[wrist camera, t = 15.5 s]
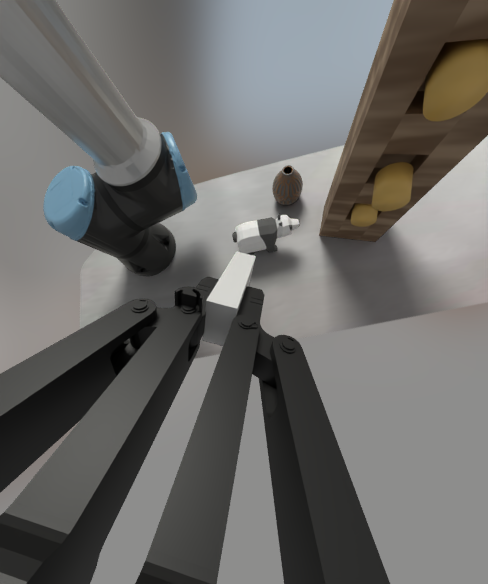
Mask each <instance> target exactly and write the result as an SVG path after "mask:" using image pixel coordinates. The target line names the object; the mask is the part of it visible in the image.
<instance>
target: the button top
mask: <svg viewBox="0 0 488 584" xmlns="http://www.w3.org/2000/svg"><path fill="white" fill-rule="evenodd" d="M487 92H488V38H487V39H477V40H466V41H456V42H446V43H445V44H444V45H443V47H442V49H441V51H440V53H439V54H438V56H437V58H436V60H435V61H434V63H433V65H432V67H431V68H430V70H429V72H428V74H427V76H426V82H425V92H424V103H423V115H424V117H425V118H426V119H428V120H430V121H444V120H448V119H451V118H454V117H456V116H458V115H460V114H462V113H464V112H466V111H467V110H469V109H470V108H471V107H473V106H474V105H475V104H477V103H478V102H479V101H480V100H481V99H482V98H483V97H484V96H485V95H486V93H487Z"/></svg>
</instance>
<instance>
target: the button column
mask: <svg viewBox="0 0 488 584" xmlns="http://www.w3.org/2000/svg"><path fill="white" fill-rule="evenodd" d="M487 38H488V0H394V2H393V4H392V7H391V10H390V13H389V16H388V19H387V22H386V25H385V28H384V31H383V34H382V37H381V40H380V43H379V46H378V49H377V52H376V55H375V58H374V61H373V64H372V67H371V69H370V72H369V75H368V79H367V82H366V85H365V87H364V90H363V93H362V96H361V99H360V102H359V105H358V108H357V111H356V114H355V117H354V120H353V123H352V126H351V129H350V132H349V135H348V138H347V141H346V143H345V146H344V149H343V152H342V155H341V158H340V161H339V164H338V167H337V170H336V173H335V176H334V179H333V182H332V185H331V188H330V191H329V194H328V197H327V200H326V203H325V206H324V211H323V217H322V223H321V229H320V234H319V236H328V237H337V238H346V239H355V240H364V241H373V242H376V241H377V240H378V239H379V238H380V237H381V236H382V235H383V234H384V233H385V232H386V231H387V230H388V229H389V228H391V227H392V226H393V225H394V224H395V223H396V222H397V221H398V220H399V219H400V218H401V217H402V216H403V215H404V214H405V213H406V212H407V211H408V210H409V209H411V208H412V207H413V206H414V205H415V204H416V203H417V202H418V201H419V200H420V199H421V198H422V197H423V196H424V195H425V194H426V193H427V192H428V191H429V190H431V189H432V188H433V187H434V186H435V185H436V184H437V183H438V182H439V181H440V180H441V179H442V178H443V177H444V176H445V175H446V174H447V173H448V172H449V171H451V170H452V169H453V168H454V167H455V166H456V165H457V164H458V163H459V162H460V161H461V160H462V159H463V158H464V157H465V156H466V155H467V154H468V153H469V152H471V151H472V150H473V149H474V148H475V147H476V146H477V145H478V144H479V143H480V142H481V141H482V140H483V139H484V138H485V137H486V136H487V135H488V92H487V93H486V95H485V96H484V97H483V98H482V99H481V100H480V101H479V102H478V103H477V104H475V105H474V106H473V107H471V108H470V109H469V110H467V111H466V112H464V113H462V114H460V115H458V116H456V117H454V118H451V119H448V120H444V121H430V120H428V119H426V118H425V117H424V115H423V103H424V92H425V82H426V76H427V74H428V72H429V70H430V68H431V67H432V65H433V63H434V61H435V60H436V58H437V56H438V54H439V53H440V51H441V49H442V47H443V45H444V44H445V43H446V42H456V41H466V40H477V39H487ZM397 162H406V163H409V164H411V165H412V166H413V179H412V189H411V199H410V201H409V203H408V204H406V205H405V206H403V207H402V208H399V209H396V210H392V211H378V214H377V221H376V222H375V223H374V224H372V225H370V226H365V227H358V226H354V225H352V224H351V215H352V209H353V205H354V203H359V204H372V198H373V190H374V183H375V176H376V174H377V173H378V172H379V171H380V170H381V169H382V168H384V167H385V166H387V165H390V164H393V163H397Z"/></svg>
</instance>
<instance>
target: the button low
mask: <svg viewBox="0 0 488 584" xmlns="http://www.w3.org/2000/svg"><path fill="white" fill-rule="evenodd" d="M377 214H378V210H375V209H374V208H373V207H372V204H359V203H354V205H353V209H352V215H351V224H352V225H354V226H358V227H365V226H370V225H372V224H374V223H375V222H376V221H377Z"/></svg>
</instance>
